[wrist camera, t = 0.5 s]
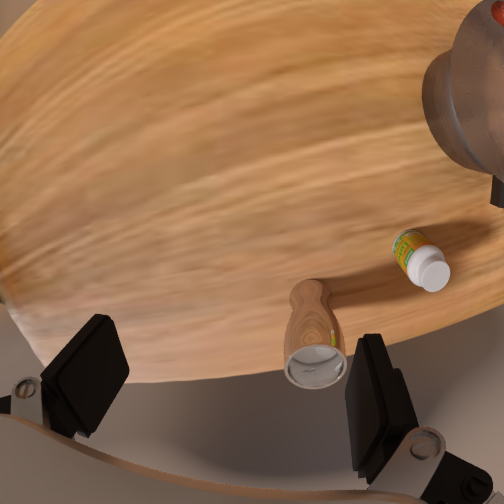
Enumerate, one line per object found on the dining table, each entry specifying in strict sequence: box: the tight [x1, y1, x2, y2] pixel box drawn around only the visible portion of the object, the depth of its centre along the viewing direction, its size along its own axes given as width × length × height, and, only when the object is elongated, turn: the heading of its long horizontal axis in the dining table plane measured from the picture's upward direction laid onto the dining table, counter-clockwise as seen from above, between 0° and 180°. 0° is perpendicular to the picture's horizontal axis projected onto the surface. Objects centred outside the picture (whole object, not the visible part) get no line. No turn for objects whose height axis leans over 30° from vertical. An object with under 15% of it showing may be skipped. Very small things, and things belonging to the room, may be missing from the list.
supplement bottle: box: [393, 230, 450, 292], centre depth 33 cm, size 5×5×10 cm
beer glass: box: [284, 279, 347, 389], centre depth 35 cm, size 7×7×15 cm
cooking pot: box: [422, 49, 504, 208], centre depth 24 cm, size 25×18×10 cm
